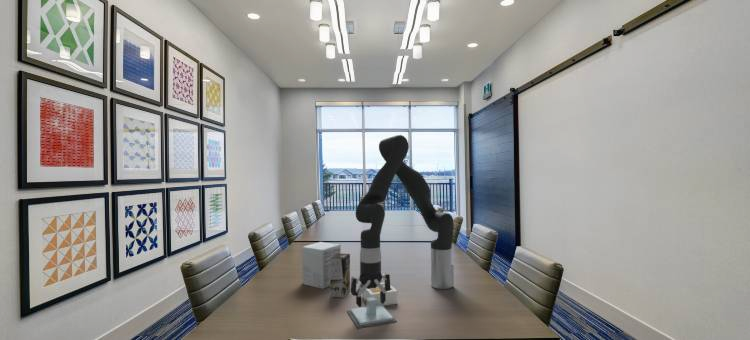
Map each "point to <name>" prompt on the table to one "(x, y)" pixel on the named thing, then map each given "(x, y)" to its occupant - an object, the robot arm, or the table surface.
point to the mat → (369, 324)
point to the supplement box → (318, 263)
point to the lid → (371, 313)
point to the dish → (369, 293)
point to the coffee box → (339, 275)
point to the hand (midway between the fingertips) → (370, 304)
